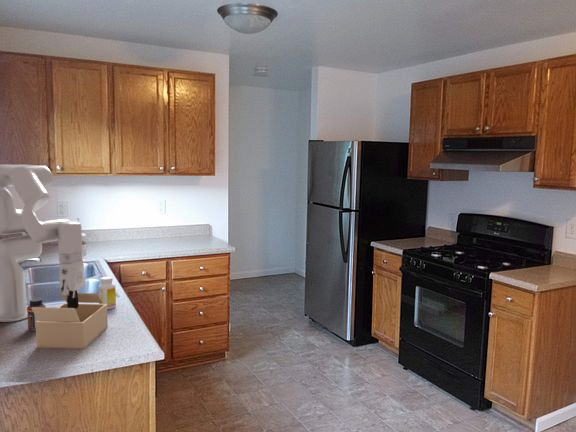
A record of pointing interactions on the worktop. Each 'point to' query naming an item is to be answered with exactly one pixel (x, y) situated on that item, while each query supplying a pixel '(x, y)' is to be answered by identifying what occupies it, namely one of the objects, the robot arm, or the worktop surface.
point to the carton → (73, 328)
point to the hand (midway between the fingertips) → (73, 308)
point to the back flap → (86, 298)
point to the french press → (83, 245)
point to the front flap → (56, 314)
